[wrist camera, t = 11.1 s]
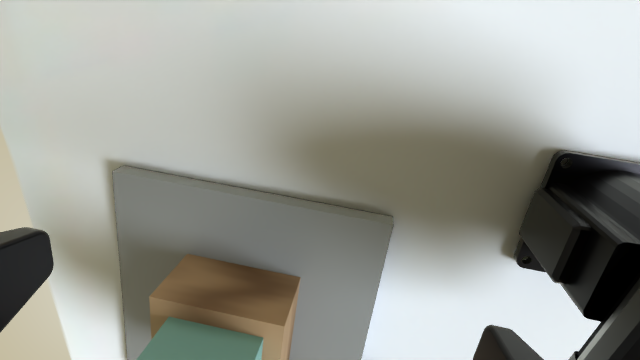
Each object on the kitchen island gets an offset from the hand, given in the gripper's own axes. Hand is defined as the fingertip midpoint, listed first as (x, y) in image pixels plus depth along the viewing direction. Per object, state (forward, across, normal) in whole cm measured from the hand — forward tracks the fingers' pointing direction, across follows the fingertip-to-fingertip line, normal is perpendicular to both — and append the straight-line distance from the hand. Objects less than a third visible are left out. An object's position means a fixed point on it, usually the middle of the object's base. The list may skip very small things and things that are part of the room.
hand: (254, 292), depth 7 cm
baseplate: (+13, +4, +12) cm, 18 cm away
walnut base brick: (+12, +4, +12) cm, 17 cm away
